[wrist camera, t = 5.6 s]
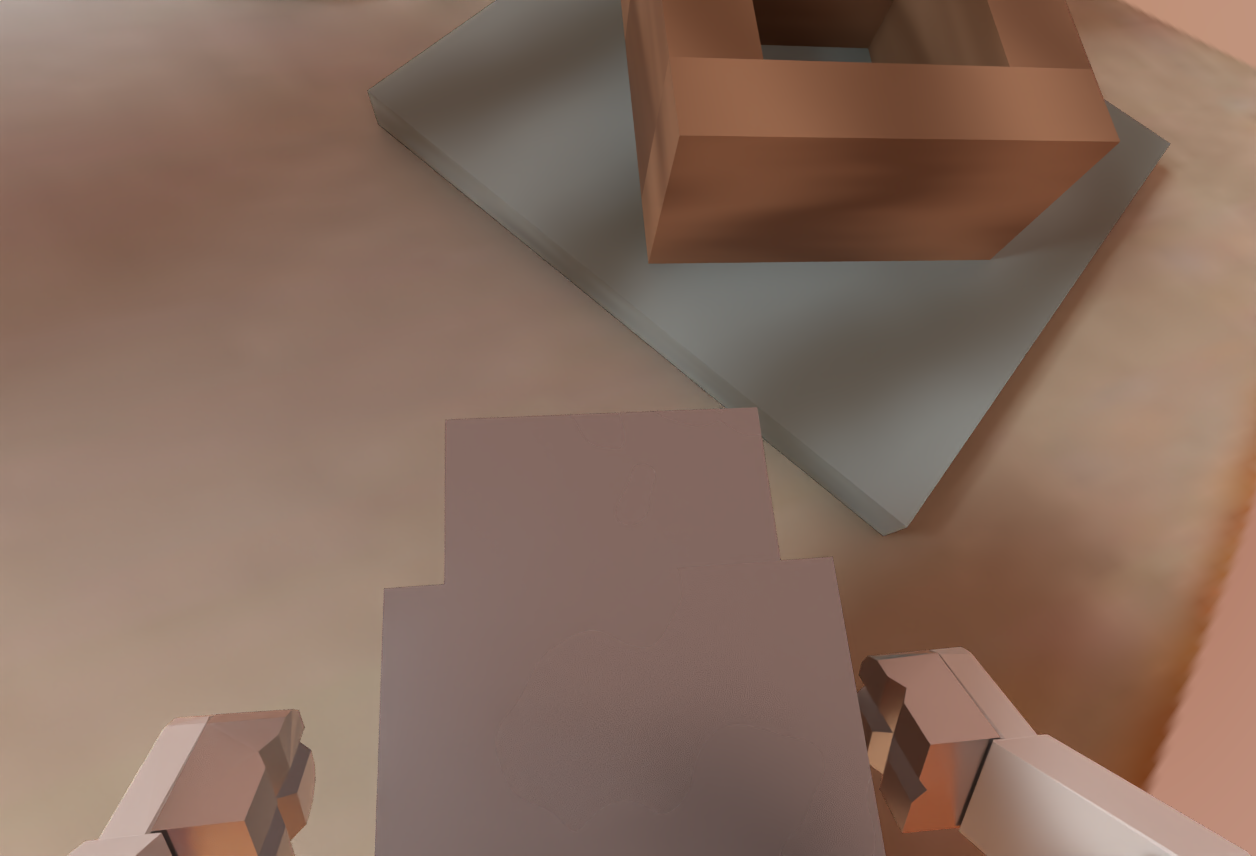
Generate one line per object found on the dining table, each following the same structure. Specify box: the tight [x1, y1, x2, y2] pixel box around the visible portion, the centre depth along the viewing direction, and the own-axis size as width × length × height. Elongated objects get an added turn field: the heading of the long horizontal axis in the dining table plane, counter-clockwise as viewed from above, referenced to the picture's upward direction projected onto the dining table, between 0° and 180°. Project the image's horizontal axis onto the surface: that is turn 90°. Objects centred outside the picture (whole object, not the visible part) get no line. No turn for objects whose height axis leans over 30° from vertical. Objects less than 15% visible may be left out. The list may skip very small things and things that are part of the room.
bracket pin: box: [375, 407, 886, 856], centre depth 10 cm, size 4×6×10 cm
